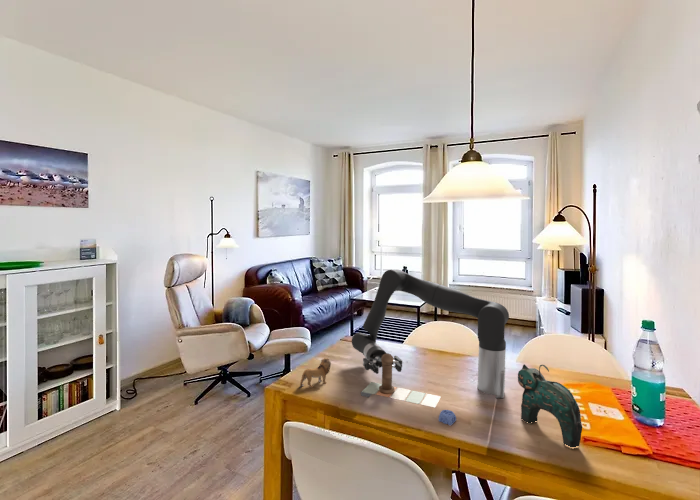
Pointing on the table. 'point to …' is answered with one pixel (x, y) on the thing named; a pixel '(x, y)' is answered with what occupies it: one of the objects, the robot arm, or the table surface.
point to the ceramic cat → (550, 403)
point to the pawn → (387, 374)
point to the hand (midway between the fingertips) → (389, 370)
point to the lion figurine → (317, 372)
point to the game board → (403, 395)
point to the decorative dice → (447, 417)
